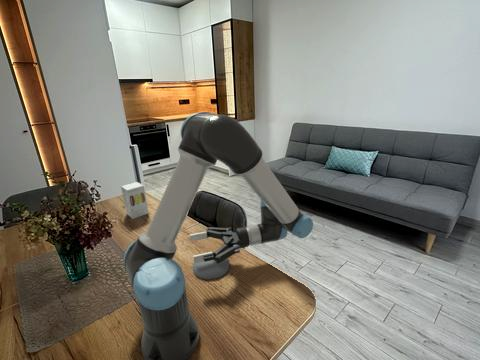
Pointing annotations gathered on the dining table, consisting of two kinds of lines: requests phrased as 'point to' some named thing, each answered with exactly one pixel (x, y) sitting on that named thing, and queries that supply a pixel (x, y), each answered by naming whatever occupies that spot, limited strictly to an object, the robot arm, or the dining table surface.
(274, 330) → the dining table surface
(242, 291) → the dining table surface
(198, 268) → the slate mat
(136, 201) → the supplement box
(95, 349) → the dining table surface
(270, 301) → the dining table surface
